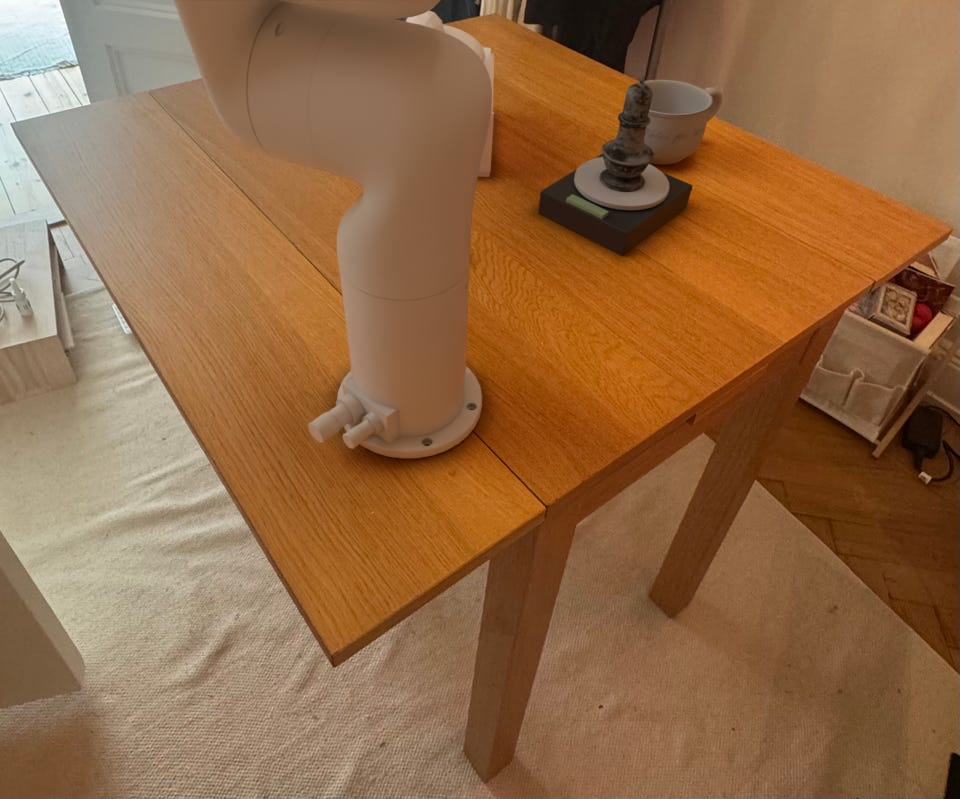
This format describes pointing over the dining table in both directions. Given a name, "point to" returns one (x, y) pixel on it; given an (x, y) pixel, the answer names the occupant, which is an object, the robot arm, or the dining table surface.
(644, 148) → the dark grey finial
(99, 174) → the dining table surface
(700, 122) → the teacup
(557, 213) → the scale
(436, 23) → the butter dish
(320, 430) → the robot arm
